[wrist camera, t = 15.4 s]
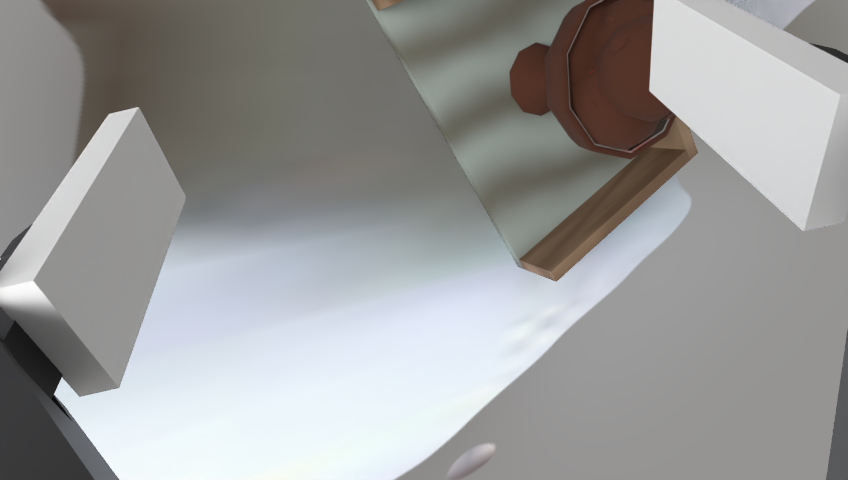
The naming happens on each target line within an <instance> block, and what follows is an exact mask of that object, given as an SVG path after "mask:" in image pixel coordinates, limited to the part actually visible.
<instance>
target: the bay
mask: <svg viewBox="0 0 848 480" xmlns="http://www.w3.org/2000/svg"><path fill="white" fill-rule="evenodd" d="M366 1H367V3H368V5H369V6H370V8H371V10H372V12H373V13H374V15H375V17H376V19H377V20H378V22H379V24H380V26H381V27H382V29H383V31H384V33H385V34H386V36H387V38H388V40H389V41H390V43H391V45H392V47H393V48H394V50H395V52H396V54H397V55H398V57H399V59H400V61H401V62H402V64H403V66H404V68H405V69H406V71H407V73H408V75H409V76H410V78H411V80H412V82H413V83H414V85H415V87H416V89H417V90H418V92H419V94H420V96H421V97H422V99H423V101H424V103H425V104H426V106H427V108H428V110H429V111H430V113H431V115H432V117H433V118H434V120H435V122H436V124H437V125H438V127H439V129H440V131H441V132H442V134H443V136H444V138H445V139H446V141H447V143H448V145H449V146H450V148H451V150H452V152H453V153H454V155H455V157H456V159H457V160H458V162H459V164H460V166H461V167H462V169H463V171H464V173H465V174H466V176H467V178H468V180H469V181H470V183H471V185H472V187H473V188H474V190H475V192H476V194H477V195H478V197H479V199H480V201H481V202H482V204H483V206H484V208H485V209H486V211H487V213H488V215H489V216H490V218H491V220H492V222H493V223H494V225H495V227H496V229H497V230H498V232H499V234H500V236H501V237H502V239H503V241H504V243H505V244H506V246H507V248H508V250H509V251H510V253H511V255H512V257H513V258H514V260H515V262H516V264H517V265H518V267H521V268H523V269H526V270H528V271H531V272H533V273H536V274H538V275H541V276H543V277H546V278H548V279H551V280H554V281H558V280H559V279H560V278H561V277H562V276H563V275H564V274H565V273H566V272H567V271H569V270H570V269H571V268H572V267H573V266H574V265H575V264H576V263H577V262H578V261H580V260H581V259H582V258H583V257H584V256H585V255H586V254H587V253H588V252H589V251H591V250H592V249H593V248H594V247H595V246H596V245H597V244H598V243H599V242H600V241H602V240H603V239H604V238H605V237H606V236H607V235H608V234H609V233H610V232H611V231H613V230H614V229H615V228H616V227H617V226H618V225H619V224H620V223H621V222H622V221H624V220H625V219H626V218H627V217H628V216H629V215H630V214H631V213H632V212H633V211H635V210H636V209H637V208H638V207H639V206H640V205H641V204H642V203H643V202H644V201H645V200H647V199H648V198H649V197H650V196H651V195H652V194H653V193H654V192H655V191H656V190H658V189H659V188H660V187H661V186H662V185H663V184H664V183H665V182H666V181H667V180H669V179H670V178H671V177H672V176H673V175H674V174H675V173H676V172H677V171H678V170H680V169H681V168H682V167H683V166H684V165H685V164H686V163H687V162H688V161H689V160H691V158H693V157H694V156H695V155H696V154H697V153H698V152H697V149H696V146H695V143H694V141H693V138H692V135H691V132H690V130H689V127H688V126H687V125H686V124H685V123H684V122H683V121H682V120H681V119H680V118H678V117H677V116H676V118H675V120H674V122H673V124H672V126H671V128H670V130H669V133H668V135H667V136H666V137H665V138H663V139H662V140H660V141H658V142H657V143H655V144H654V145H652V146H651V147H649V148H648V149H646V150H645V151H643V152H642V153H640V154H639V155H637V156H636V157H634V158H633V159H626V158H621V157H616V156H612V155H607V154H602V153H597V152H592V151H589V150H587V149H584V148H582V147H579V146H578V145H577V144H576V143H575V142H574V141H573V140H571V139H570V137H569V136H568V135H567V133H566V132H565V130H564V129H563V127H562V126H561V125H560V123H559V122H558V120H557V119H556V117H555V116H554V115H553V113H552V112H551V111H549V112H548V113H546V114H544V115H542V116H538V115H534V114H530V113H525V112H523V111H522V109H521V108H520V107H519V105H518V104H517V103H516V101H515V100H514V99H513V97H512V96H511V87H510V74H509V72H510V69H511V67H512V65H513V63H514V61H515V59H516V57H517V55H518V53H519V51H521V50H523V49H525V48H526V47H528V46H530V45H532V44H534V43H536V42H537V43H540V44H544V45H547V46H551V44H552V42H553V40H554V37H555V35H556V33H557V31H558V29H559V27H560V25H561V23H562V21H563V18H564V17H565V16H566V14H567V13H568V12H569V11H570V10H571V8H573V7H574V6H576V5H578V4H580V3H581V2H583V1H585V0H366Z"/></svg>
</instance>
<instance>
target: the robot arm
mask: <svg viewBox="0 0 848 480" xmlns="http://www.w3.org/2000/svg"><path fill="white" fill-rule="evenodd" d="M649 91H650V92H651V93H652V94H653V95H654V96H655V97H656V98H658V99H659V100H660V101H661V102H662V103H663V104H664V105H665V106H666V107H667V108H669V109H670V110H671V111H672V112H673V113H674V114H675V115H676V116H677V117H678V118H680V119H681V120H682V121H683V122H684V123H685V124H686V125H687V126H688V127H689V128H691V129H692V130H693V131H694V132H695V133H696V134H697V135H698V136H699V137H700V138H702V139H703V140H704V141H705V142H706V143H707V144H708V145H709V146H710V147H711V148H712V149H714V150H715V151H716V152H717V153H718V154H719V155H720V156H721V157H722V158H723V159H725V160H726V161H727V162H728V163H729V164H730V165H731V166H732V167H734V169H736V170H737V171H738V172H739V173H740V174H741V175H742V176H743V177H744V178H746V179H747V180H748V181H749V182H750V183H751V184H752V185H753V186H754V187H755V188H756V189H758V190H759V191H760V192H761V193H762V194H763V195H764V196H765V197H766V198H767V199H769V200H770V201H771V202H772V203H773V204H774V205H775V206H776V207H777V208H778V209H779V210H781V211H782V212H783V213H784V214H785V215H786V216H787V217H788V218H789V219H791V220H792V221H793V222H794V223H795V224H796V225H797V226H798V227H799V228H801V230H803V231H808V230H813V229H817V228H821V227H826V226H830V225H834V224H839V223H843V222H844V221H845V218H846V215H847V211H848V55H846V54H844V53H842V52H840V51H838V50H836V49H833V48H829V47H824V46H820V45H815V44H811V43H807V42H804V41H803V40H801V39H799V38H797V37H795V36H793V35H791V34H789V33H787V32H785V31H783V30H781V29H779V28H777V27H776V26H774V25H772V24H770V23H768V22H766V21H764V20H762V19H760V18H758V17H756V16H754V15H752V14H750V13H748V12H746V11H744V10H742V9H740V8H738V7H736V6H734V5H732V4H730V3H728V2H727V1H725V0H654V12H653V31H652V49H651V67H650V85H649ZM185 200H186V196H185V194H184V192H183V191H182V189H181V187H180V185H179V183H178V181H177V179H176V177H175V175H174V173H173V171H172V170H171V168H170V166H169V164H168V162H167V160H166V158H165V156H164V154H163V152H162V150H161V149H160V147H159V145H158V143H157V141H156V139H155V137H154V135H153V133H152V131H151V129H150V128H149V126H148V124H147V122H146V120H145V118H144V116H143V114H142V112H141V110H140V108H139V107H137V108H133V109H129V110H124V111H120V112H116V113H111V114H109V115H108V116H107V118H106V119H105V120H104V122H103V123H102V125H101V126H100V128H99V129H98V131H97V132H96V133H95V135H94V136H93V138H92V139H91V141H90V142H89V144H88V145H87V146H86V148H85V149H84V151H83V152H82V154H81V155H80V157H79V158H78V160H77V161H76V162H75V164H74V165H73V167H72V168H71V170H70V171H69V173H68V174H67V175H66V177H65V178H64V180H63V181H62V183H61V184H60V186H59V187H58V188H57V190H56V191H55V193H54V194H53V196H52V197H51V199H50V200H49V202H48V203H47V204H46V206H45V207H44V209H43V210H42V212H41V213H40V215H39V216H38V217H37V219H36V220H35V222H34V223H33V224H31V225H30V226H29V227H28V228H27V229H25V230H24V231H23V232H22V233H21V234H19V235H18V236H17V237H16V238H15V239H14V240H12V242H11V243H10V244H9V246H8V247H7V249H6V250H5V251H4V253H3V254H2V256H1V257H0V258H1V260H0V480H119V479H118V478H117V476H116V475H115V473H114V472H113V471H112V469H111V468H110V467H109V465H108V464H107V463H106V461H105V460H104V459H103V457H102V456H101V455H100V453H99V452H98V451H97V449H96V448H95V446H94V445H93V444H92V442H91V441H90V440H89V438H88V437H87V436H86V434H85V433H84V432H83V430H82V429H81V428H80V426H79V425H78V424H77V422H76V421H75V420H74V418H73V417H72V415H71V414H70V413H69V411H68V410H67V409H66V407H65V406H64V405H63V404H62V403H61V402H60V401H59V400H58V398H57V397H56V396H55V395H54V393H55V391H56V388H57V386H58V384H59V382H60V380H61V377H63V379H64V380H65V381H66V382H67V383H68V384H69V385H70V387H71V388H72V389H73V390H74V391H75V392H76V393H77V394H78V396H79V397H81V396H85V395H89V394H94V393H98V392H103V391H107V390H111V389H116V388H119V387H120V384H121V381H122V378H123V375H124V372H125V370H126V367H127V364H128V361H129V358H130V355H131V353H132V350H133V347H134V344H135V341H136V338H137V336H138V333H139V330H140V327H141V324H142V321H143V319H144V316H145V313H146V310H147V307H148V304H149V302H150V299H151V296H152V293H153V290H154V287H155V285H156V282H157V279H158V276H159V273H160V270H161V268H162V265H163V262H164V259H165V256H166V253H167V251H168V248H169V245H170V242H171V239H172V236H173V234H174V231H175V228H176V225H177V222H178V219H179V217H180V214H181V211H182V208H183V205H184V202H185ZM826 480H848V332H847V339H846V345H845V352H844V359H843V367H842V373H841V380H840V387H839V394H838V401H837V408H836V415H835V422H834V429H833V436H832V444H831V450H830V457H829V464H828V471H827V478H826Z"/></svg>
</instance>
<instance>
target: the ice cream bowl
mask: <svg viewBox="0 0 848 480" xmlns="http://www.w3.org/2000/svg"><path fill="white" fill-rule="evenodd" d="M653 12H654V0H585V1H583V2H581V3H580V4H578V5H576V6H574V7H573V8H571V10H570V11H569V12H568V13H567V14H566V16H565V17H564V18H563V21H562V23H561V25H560V27H559V29H558V31H557V33H556V35H555V37H554V40H553V42H552V44H551V46H547V45H544V44H540V43H537V42H536V43H534V44H532V45H530V46H528V47H526V48H525V49H523V50H521V51H519V53H518V55H517V57H516V59H515V61H514V63H513V65H512V67H511V69H510V72H509V74H510V87H511V96H512V97H513V99H514V100H515V101H516V103H517V104H518V105H519V107H520V108H521V109H522V111H523V112H525V113H530V114H534V115H538V116H542V115H544V114H546V113H548V112H549V111H551V112H552V113H553V115H554V116H555V117H556V119H557V120H558V122H559V123H560V125H561V126H562V127H563V129H564V130H565V132H566V133H567V135H568V136H569V137H570V139H571V140H573V141H574V142H575V143H576V144H577V145H578V146H579V147H582V148H584V149H587V150H589V151H592V152H597V153H602V154H607V155H612V156H616V157H621V158H626V159H633V158H634V157H636V156H637V155H639V154H640V153H642V152H643V151H645V150H646V149H648V148H649V147H651V146H652V145H654V144H655V143H657V142H658V141H660V140H662V139H663V138H665V137H666V136H667V135H668V133H669V130H670V128H671V126H672V124H673V122H674V120H675V118H676V115H675V114H674V113H673V112H672V111H671V110H670V109H669V108H667V107H666V106H665V105H664V104H663V103H662V102H661V101H660V100H659V99H658V98H656V97H655V96H654V95H653V94H652V93H651V92H650V91H649V85H650V67H651V49H652V31H653Z"/></svg>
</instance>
